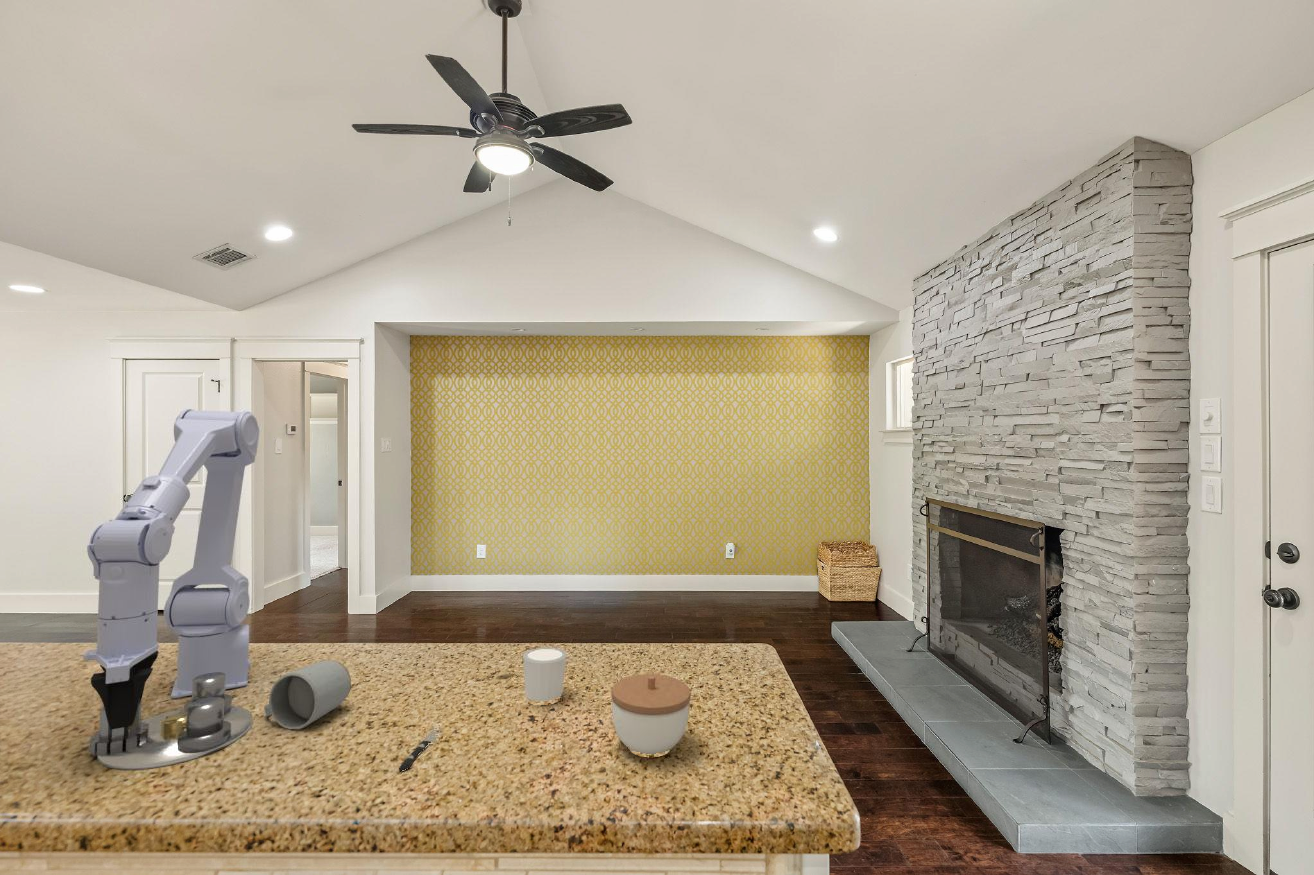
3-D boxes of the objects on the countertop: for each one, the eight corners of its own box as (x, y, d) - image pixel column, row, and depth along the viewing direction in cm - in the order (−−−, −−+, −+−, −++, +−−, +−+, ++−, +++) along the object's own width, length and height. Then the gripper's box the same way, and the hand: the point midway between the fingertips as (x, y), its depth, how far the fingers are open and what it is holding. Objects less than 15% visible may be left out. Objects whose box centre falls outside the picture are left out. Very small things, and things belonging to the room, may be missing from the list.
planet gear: (150, 729, 79) (152, 692, 79) (145, 747, 75) (146, 708, 75) (94, 740, 76) (96, 701, 76) (85, 760, 71) (87, 718, 71)
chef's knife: (477, 708, 91) (458, 705, 91) (477, 700, 91) (458, 698, 91) (419, 778, 72) (396, 774, 72) (420, 768, 72) (397, 765, 72)
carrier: (251, 700, 90) (253, 663, 90) (253, 746, 77) (254, 703, 77) (109, 726, 81) (111, 685, 81) (84, 784, 68) (86, 735, 68)
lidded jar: (634, 777, 73) (637, 700, 73) (596, 738, 82) (598, 670, 82) (704, 754, 78) (707, 684, 78) (661, 721, 87) (663, 657, 87)
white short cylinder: (512, 702, 92) (514, 657, 92) (537, 686, 98) (538, 644, 98) (550, 711, 89) (551, 665, 89) (573, 694, 96) (574, 650, 96)
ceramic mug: (355, 706, 89) (355, 655, 89) (315, 733, 81) (316, 676, 81) (292, 701, 90) (293, 650, 90) (247, 726, 82) (248, 671, 82)
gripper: (97, 603, 79) (93, 705, 79) (71, 634, 67) (67, 753, 67) (165, 596, 83) (161, 693, 83) (152, 624, 71) (148, 737, 71)
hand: (124, 719), depth 75 cm, fingers closed on planet gear, 4 cm apart
